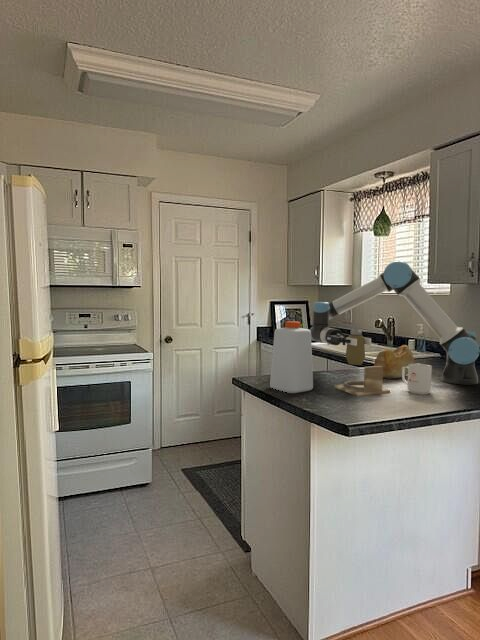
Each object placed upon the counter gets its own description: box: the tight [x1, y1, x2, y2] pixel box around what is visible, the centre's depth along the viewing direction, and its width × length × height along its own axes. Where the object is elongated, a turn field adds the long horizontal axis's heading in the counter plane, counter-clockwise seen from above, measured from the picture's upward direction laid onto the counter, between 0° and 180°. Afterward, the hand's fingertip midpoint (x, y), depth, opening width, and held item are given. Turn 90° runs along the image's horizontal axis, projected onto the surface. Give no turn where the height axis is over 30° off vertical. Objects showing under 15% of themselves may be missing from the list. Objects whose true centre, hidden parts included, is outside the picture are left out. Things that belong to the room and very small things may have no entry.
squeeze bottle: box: [345, 321, 366, 366], centre depth 191 cm, size 8×8×18 cm
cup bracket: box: [333, 365, 391, 397], centre depth 185 cm, size 16×16×11 cm
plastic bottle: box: [269, 320, 314, 394], centre depth 184 cm, size 15×15×28 cm
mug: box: [401, 363, 433, 395], centre depth 184 cm, size 12×9×11 cm
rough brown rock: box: [373, 344, 415, 380], centre depth 218 cm, size 23×17×15 cm
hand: (363, 342), depth 186 cm, fingers closed on squeeze bottle, 6 cm apart
